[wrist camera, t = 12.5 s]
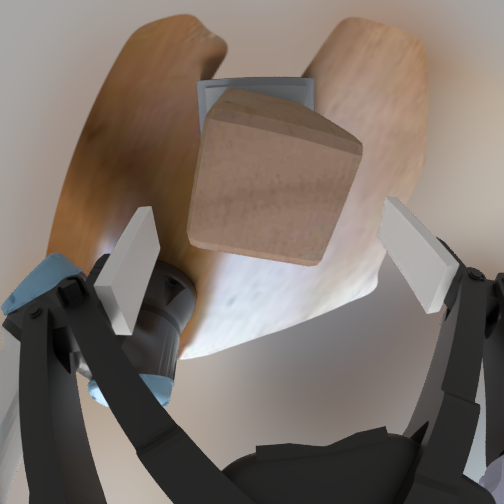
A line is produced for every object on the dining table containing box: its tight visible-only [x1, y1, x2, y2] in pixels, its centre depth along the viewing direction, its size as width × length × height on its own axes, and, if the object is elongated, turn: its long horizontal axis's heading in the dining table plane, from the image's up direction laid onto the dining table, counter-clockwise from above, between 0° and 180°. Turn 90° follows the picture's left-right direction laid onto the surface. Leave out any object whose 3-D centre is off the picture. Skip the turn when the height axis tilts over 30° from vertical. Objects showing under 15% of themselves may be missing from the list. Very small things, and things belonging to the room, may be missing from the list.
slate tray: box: [197, 77, 314, 135], centre depth 36 cm, size 14×14×3 cm
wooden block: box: [187, 88, 363, 266], centre depth 26 cm, size 10×10×20 cm
